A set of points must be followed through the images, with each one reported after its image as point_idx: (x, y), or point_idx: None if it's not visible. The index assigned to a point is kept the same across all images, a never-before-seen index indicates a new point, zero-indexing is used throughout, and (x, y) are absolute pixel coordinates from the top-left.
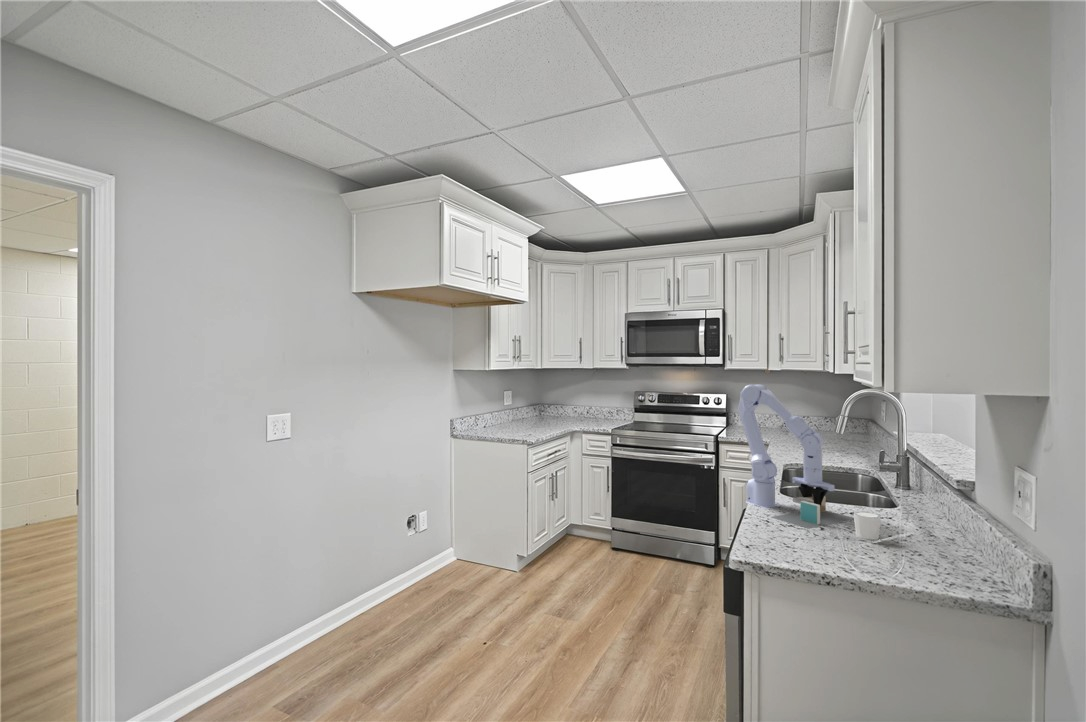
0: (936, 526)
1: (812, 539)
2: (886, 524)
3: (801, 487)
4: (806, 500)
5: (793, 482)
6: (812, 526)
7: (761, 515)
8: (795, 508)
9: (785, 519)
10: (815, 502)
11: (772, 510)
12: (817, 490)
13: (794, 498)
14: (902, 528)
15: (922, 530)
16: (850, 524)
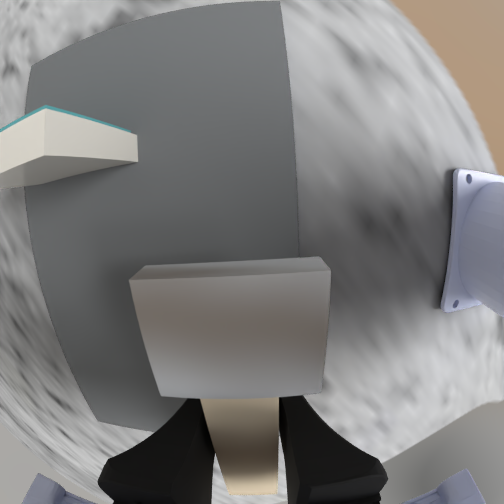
0: (59, 467)
1: (3, 34)
2: (61, 428)
3: (334, 484)
4: (166, 328)
5: (459, 476)
6: (34, 106)
7: (362, 26)
8: (378, 360)
9: (187, 39)
10: (188, 404)
11: (426, 190)
12: (102, 479)
13: (307, 278)
14: (31, 417)
15: (25, 427)
16: (52, 347)
